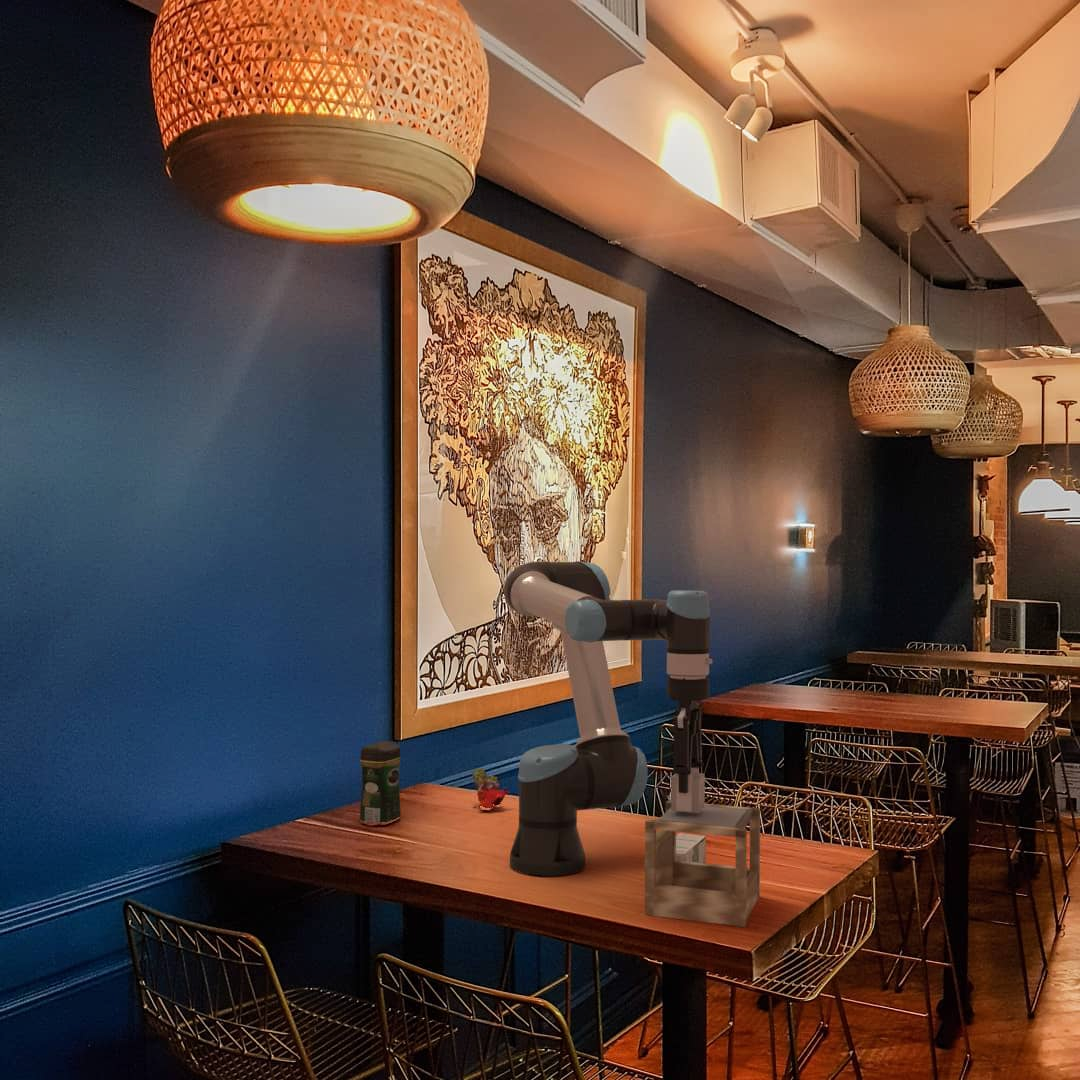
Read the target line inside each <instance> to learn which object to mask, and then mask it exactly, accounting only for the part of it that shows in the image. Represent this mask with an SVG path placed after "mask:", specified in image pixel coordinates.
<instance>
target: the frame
mask: <svg viewBox="0 0 1080 1080" xmlns="http://www.w3.org/2000/svg"><path fill="white" fill-rule="evenodd" d="M705 806H708V807H720V808H731V809H743V810H752V817H751V819H750V820H749V867H747V865H748V863H747V861H748V860H747V858H748V857H747V855H748V854H747V852H748V851H747V849H748V848H747V847H748V845H747V844H748V842H747V841H748V838H747V837H748V836H747V835H748V831H747V828H745V827H744V828H736V827H725V826H714V825H703V824H692V823H682V822H671V821H660V820H658V819H645V820H644V915H645V916H652V917H660V918H661V917H662V918H667V919H668V918H669V919H675V920H676V919H678V920H685V921H692V922H701V923H708V924H716V923H717V925H724V924H725V925H726V926H731V927H732V926H734V927H739V928H740V927H742V928H746V925H747V922H748V919H749V917H750V916H751V913H752V911H753V910H754V907H755V905H756V903H757V902H758V900H759V899H760V897H761V808H758V807H749V806H748V807H747V806H746V807H745V806H735V805H722V804H712V803H705ZM670 808H671V800H667V801H665V813H666V812H667V811H668V810H669V809H670ZM677 832H679V833H687V834H698V835H708V836H709V835H711V836H720V837H721V836H722V837H733V838H735V865H734V866H733V865H725V864H716V863H715V864H714V863H707V862H706V863H697V862H687V861H678V860H676V836H677ZM725 925H724V926H725Z"/></svg>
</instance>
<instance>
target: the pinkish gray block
mask: <svg viewBox="0 0 1080 1080" xmlns="http://www.w3.org/2000/svg"><path fill="white" fill-rule="evenodd" d="M690 774H692V812H690V813H700V812H701V811H702V809H703V808H704V807H705V804H706V803H705V801H706V800H705V796H706V793H705V792H706V791H705V790H706V789H705V788H706V787H705V784H706V783H705V780H706V779H705V773H701V772H699V773H690ZM670 801H671V811H676V774H673V775H671V776H670ZM678 812H687V811H678Z"/></svg>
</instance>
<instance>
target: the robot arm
mask: <svg viewBox="0 0 1080 1080" xmlns="http://www.w3.org/2000/svg"><path fill="white" fill-rule="evenodd" d="M608 579H609V578H608V577H607V575H606V573H605V572H604V570H603V569H602V568H601V567H600V566H599V565H597V564H595V563H594V562H583V561H580V560H577V561H531V562H527V563H523V564H521V565H519V566H517V567H516V568H514V570H512V571H511V572H510V573H509V574H508V576H507V577H506V579H505V581H504V584H503V585H504V586H503V596H504V599H505V601H506V603H507V605H508V606H509V607H510V608H511V610H513V611H514V612H516V613H518V614H520V615H522V616H525V617H539V618H541V619H544V620H547V621H549V622H551V623H552V627H553V628H554V629H556V630H557V631H559V632H560V635H561V639H562V646H563V650H564V656H565V661H566V666H567V673H568V678H569V684H570V689H571V694H572V700H573V704H574V710H575V715H576V720H577V726H578V730H579V731H578V732H579V737H580V738H579V739H578V741H577V742H576V744H575V745H572V744H564V743H561V744H547V745H541V746H537V747H534V748H531V749H529V750H527V751H525V752H524V753H523V754H522V755H521V756H520V759H519V768H518V775H517V778H518V827H517V830H516V834H515V837H514V840H513V844H512V847H511V849H510V853H509V867H510V866H511V867H512V868H513V869H515V870H517V871H516V872H518V871H520V872H519V873H521V872H523V873H522V874H524V873H528V874H527V875H530V874H532V875H531V876H538V875H542V876H541V877H557V876H566V875H567V874H568V875H572V874H575V873H578V872H581V871H583V870H584V869H585V868H586V854H585V853H586V852H585V850H584V846H583V843H582V840H581V837H580V834H579V830H578V811H587V810H595V809H596V810H597V809H604V808H605V809H606V808H620V807H623V806H630V805H635V804H636V803H637V802H638V801H639V800H641V798H642V797H643V795H644V792H645V789H646V786H647V782H648V763H647V762H648V761H647V758H646V755H645V753H644V752H643V750H641V749H640V748H639V747H636V746H632V743H631V742H632V741H631V738H630V735H629V734H628V733H626V732H625V731H623V730H622V729H621V724H620V719H619V714H618V710H617V705H616V700H615V695H614V690H613V685H612V681H611V675H610V670H609V666H608V660H607V655H606V651H605V646H604V642H610V641H611V642H612V641H613V642H615V641H654V640H656V641H657V640H659V641H666V642H667V643H666V644H667V645H666V647H667V648H666V674H667V675H669V677H668V678H667V679H666V696H667V698H668V699H670V700H675V701H678V702H677V709H675V710H674V715H673V717H672V722H673V767H672V768H673V769H671V774H673V775H674V774H676V811H687V812H692V774H690V773H700V768H704V762H703V761H702V758H703V757H702V715H703V714H702V713H703V708H702V707H700V706H699V702H700V701H705V700H707V699H709V698H710V679H709V678H708V677H706V676H708V675H709V674H710V665H712V664H713V659H712V658H709V657H710V637H711V636H710V634H711V633H710V629H711V628H710V627H711V625H710V624H711V621H710V620H711V610H710V600H709V599H710V596H709V594H708V593H707V592H706V591H704V590H690V589H688V590H687V589H686V590H685V589H684V590H682V589H681V590H679V589H678V590H670V591H669V592H668V593H667V599H660V598H646V599H621V600H620V599H619V600H618V599H611V598H610V595H611V588H610V587H611V586H610V582H609V580H608ZM701 761H702V762H701ZM511 867H510V868H511ZM512 868H511V869H512ZM513 869H512V870H513ZM515 870H514V871H515ZM568 875H567V876H568Z"/></svg>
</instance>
